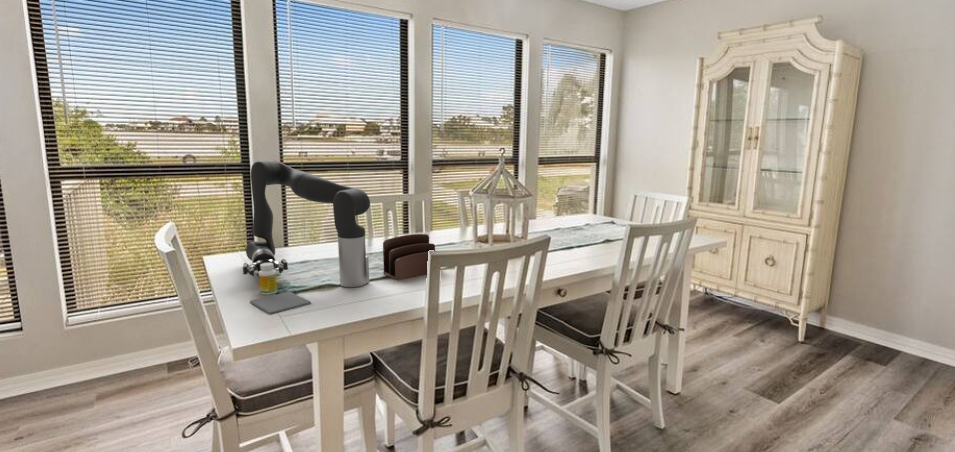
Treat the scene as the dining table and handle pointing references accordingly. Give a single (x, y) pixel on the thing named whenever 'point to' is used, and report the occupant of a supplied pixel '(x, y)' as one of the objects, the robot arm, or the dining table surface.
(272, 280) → the supplement bottle
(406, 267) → the letter holder
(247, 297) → the dining table surface
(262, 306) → the mat
